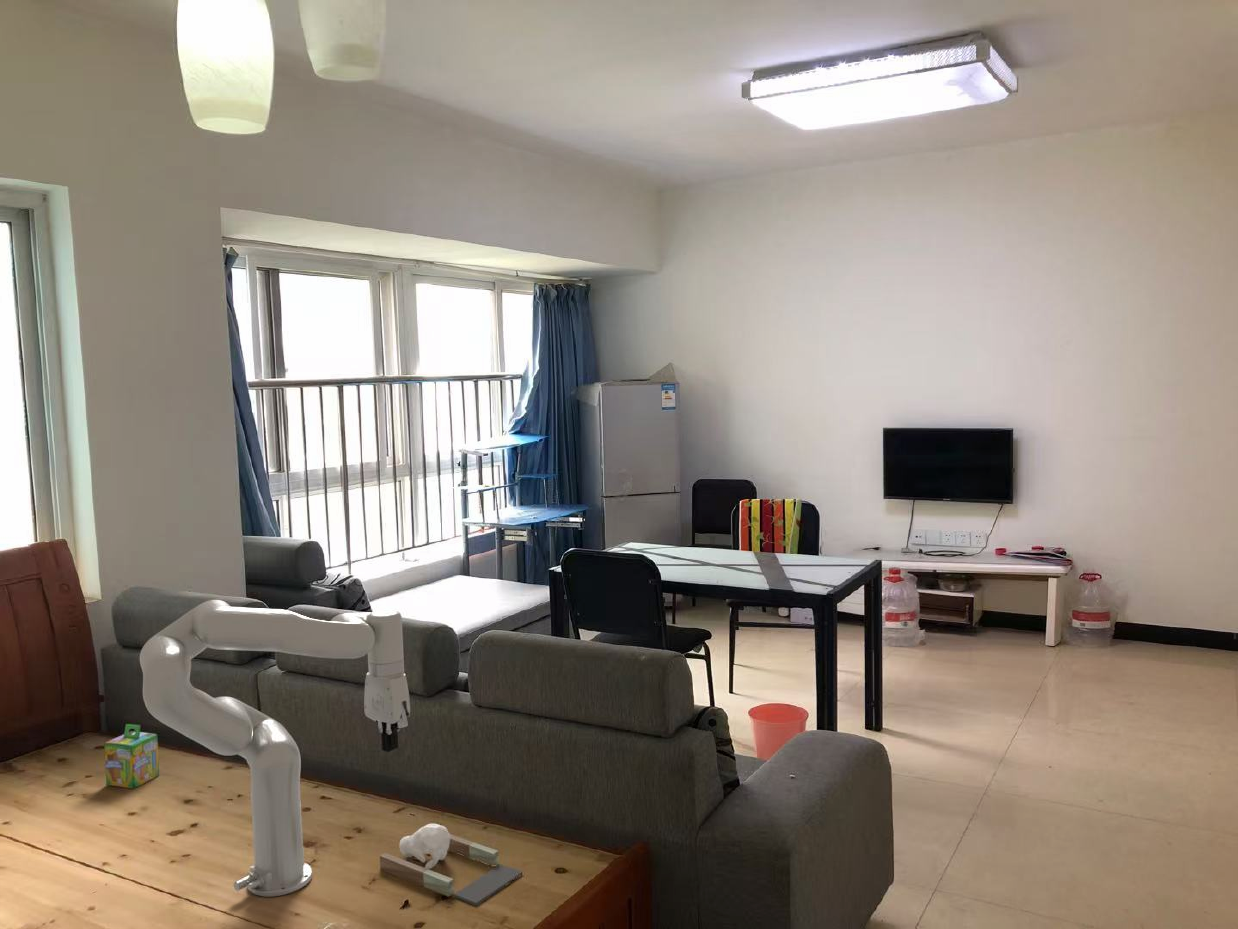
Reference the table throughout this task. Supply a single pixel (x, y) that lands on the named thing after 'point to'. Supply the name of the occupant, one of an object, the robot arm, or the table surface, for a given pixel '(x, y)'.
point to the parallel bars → (432, 878)
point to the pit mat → (487, 884)
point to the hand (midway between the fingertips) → (390, 749)
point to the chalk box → (131, 758)
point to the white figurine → (427, 844)
